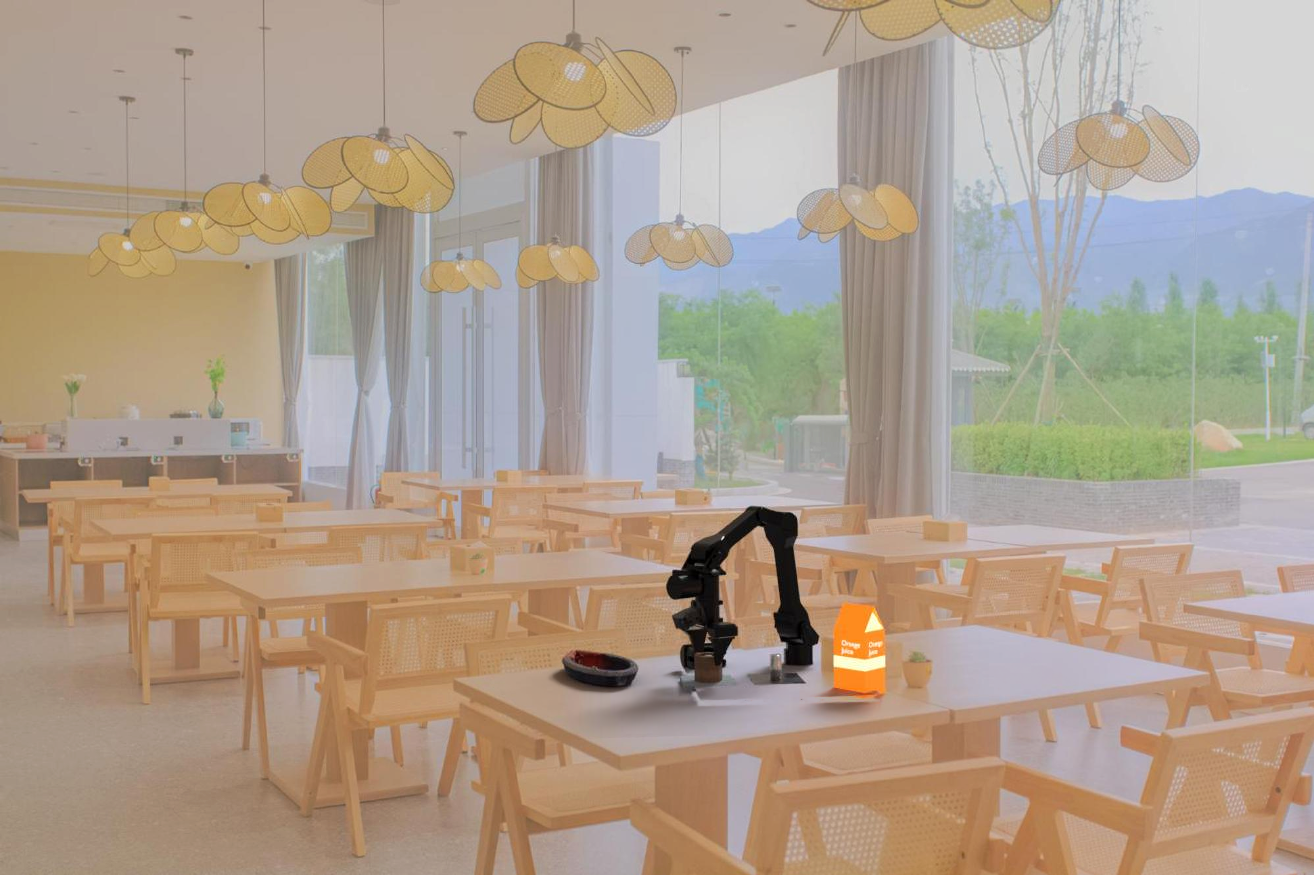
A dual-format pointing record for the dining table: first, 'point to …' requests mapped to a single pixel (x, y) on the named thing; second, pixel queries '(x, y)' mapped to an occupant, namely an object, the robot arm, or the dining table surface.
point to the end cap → (688, 654)
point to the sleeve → (706, 668)
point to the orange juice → (859, 650)
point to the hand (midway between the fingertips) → (707, 662)
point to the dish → (600, 668)
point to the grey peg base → (690, 682)
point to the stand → (776, 674)
